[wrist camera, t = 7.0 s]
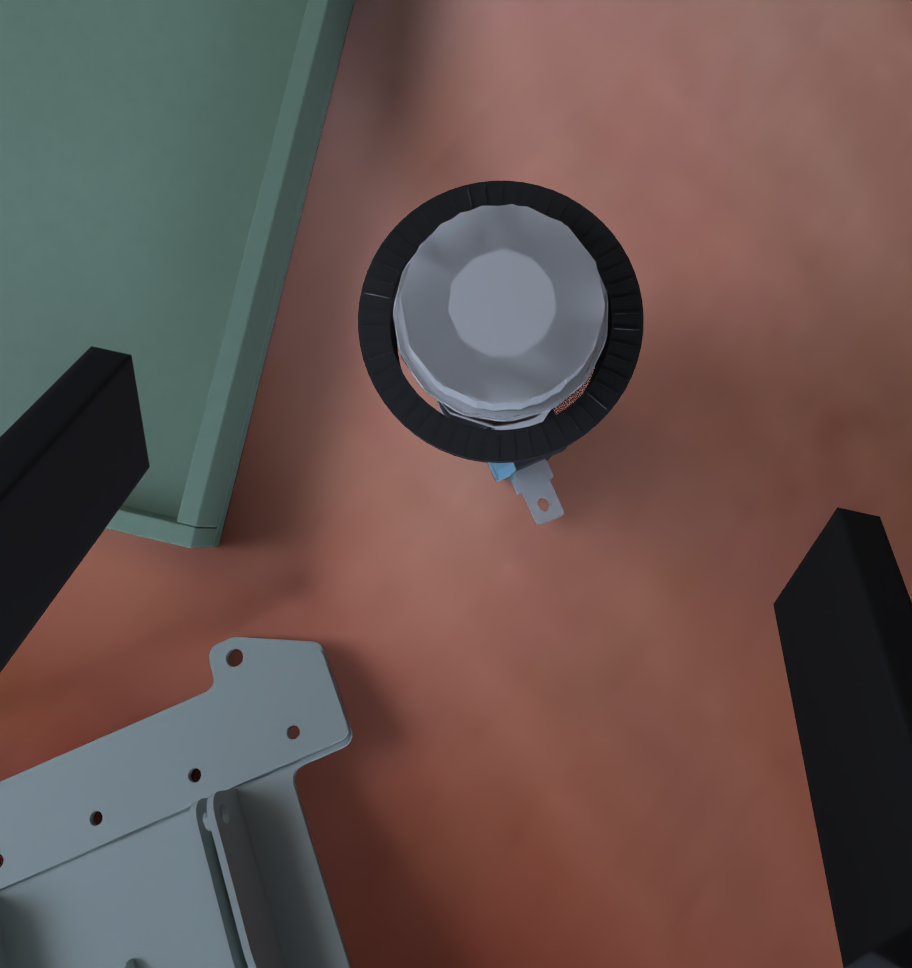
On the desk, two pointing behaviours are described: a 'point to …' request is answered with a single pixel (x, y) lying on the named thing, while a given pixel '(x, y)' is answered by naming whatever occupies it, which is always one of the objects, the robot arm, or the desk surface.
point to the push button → (502, 327)
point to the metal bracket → (181, 830)
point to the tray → (158, 216)
